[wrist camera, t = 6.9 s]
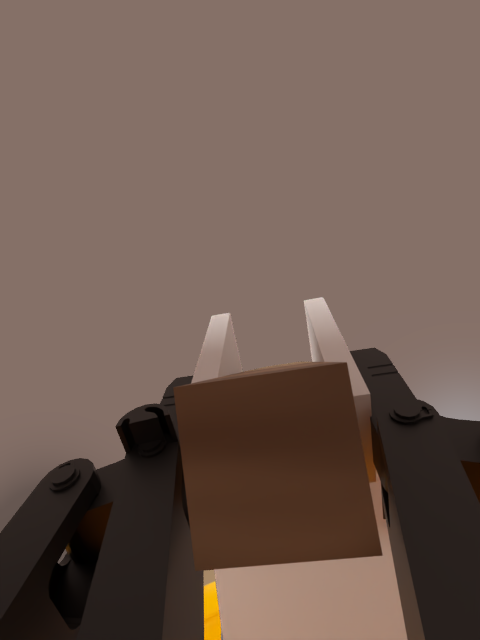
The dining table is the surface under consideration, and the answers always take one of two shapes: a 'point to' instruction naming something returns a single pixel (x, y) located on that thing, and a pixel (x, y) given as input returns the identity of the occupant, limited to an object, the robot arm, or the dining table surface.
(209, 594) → the dining table surface
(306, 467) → the walnut bar
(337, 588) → the tall white carton
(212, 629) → the dining table surface
